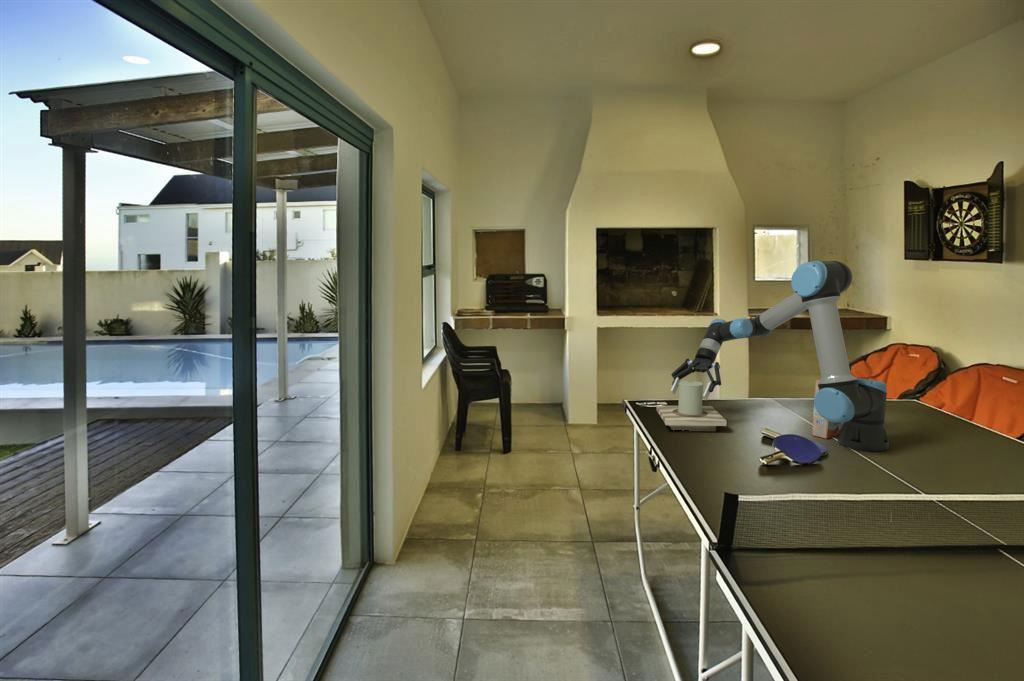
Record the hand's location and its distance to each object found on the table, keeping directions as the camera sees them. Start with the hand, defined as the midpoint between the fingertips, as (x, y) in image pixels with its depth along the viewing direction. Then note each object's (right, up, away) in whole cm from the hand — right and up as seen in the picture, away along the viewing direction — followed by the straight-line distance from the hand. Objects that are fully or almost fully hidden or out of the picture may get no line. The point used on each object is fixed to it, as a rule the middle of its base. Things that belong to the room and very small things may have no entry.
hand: (688, 395), depth 223 cm
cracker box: (+48, -13, -12) cm, 51 cm away
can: (+1, -7, +2) cm, 7 cm away
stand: (+1, -12, +3) cm, 12 cm away
